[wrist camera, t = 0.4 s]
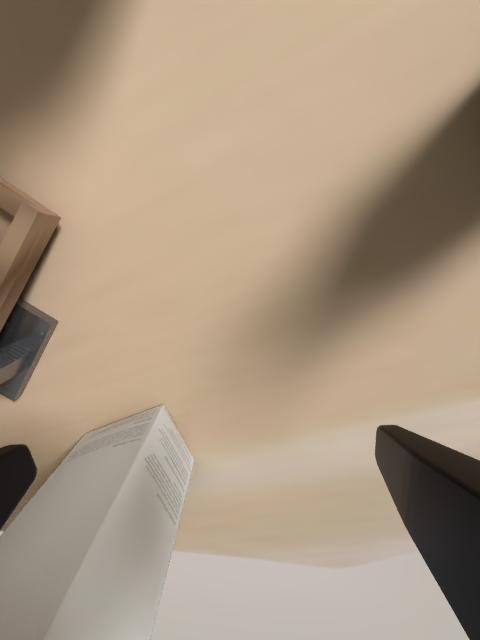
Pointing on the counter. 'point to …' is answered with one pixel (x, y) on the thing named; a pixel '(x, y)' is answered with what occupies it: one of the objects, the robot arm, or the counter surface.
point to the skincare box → (97, 536)
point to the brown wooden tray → (20, 242)
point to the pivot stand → (22, 346)
